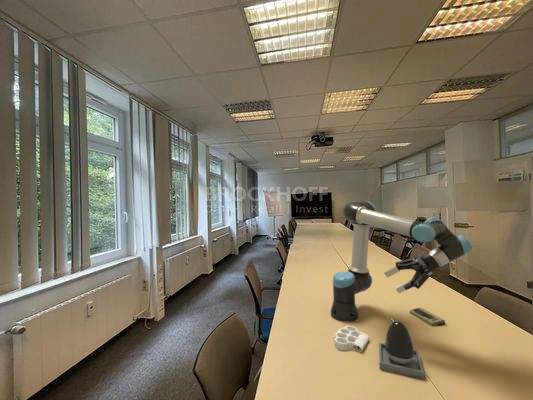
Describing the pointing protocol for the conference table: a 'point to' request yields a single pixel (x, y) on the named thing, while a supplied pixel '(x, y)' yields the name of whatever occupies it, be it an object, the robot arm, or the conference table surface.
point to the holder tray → (408, 369)
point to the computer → (427, 317)
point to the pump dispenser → (399, 343)
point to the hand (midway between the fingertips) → (390, 282)
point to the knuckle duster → (350, 339)
